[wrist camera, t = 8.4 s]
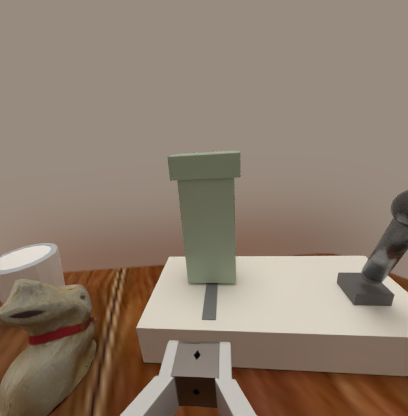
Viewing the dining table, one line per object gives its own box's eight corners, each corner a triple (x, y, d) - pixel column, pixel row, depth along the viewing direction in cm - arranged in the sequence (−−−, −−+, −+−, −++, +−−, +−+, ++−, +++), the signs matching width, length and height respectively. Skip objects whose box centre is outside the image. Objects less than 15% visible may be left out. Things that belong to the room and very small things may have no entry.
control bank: (143, 362, 19) (133, 316, 17) (172, 282, 29) (168, 248, 28) (445, 378, 16) (467, 325, 14) (358, 283, 26) (366, 246, 25)
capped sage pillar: (182, 286, 22) (167, 156, 18) (187, 268, 25) (175, 154, 20) (241, 286, 21) (240, 152, 17) (239, 268, 24) (238, 150, 20)
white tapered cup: (42, 284, 31) (26, 241, 28) (83, 287, 29) (70, 242, 27) (-11, 324, 24) (-37, 272, 22) (38, 330, 23) (16, 276, 21)
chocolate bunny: (116, 366, 19) (90, 269, 16) (-4, 454, 14) (-78, 339, 11) (97, 328, 23) (73, 245, 19) (-2, 386, 18) (-55, 288, 15)
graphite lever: (360, 293, 18) (421, 205, 12) (346, 267, 20) (392, 181, 14) (394, 293, 17) (473, 204, 12) (376, 267, 19) (436, 179, 14)
